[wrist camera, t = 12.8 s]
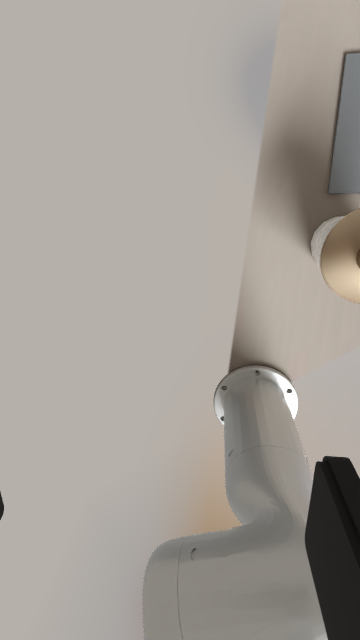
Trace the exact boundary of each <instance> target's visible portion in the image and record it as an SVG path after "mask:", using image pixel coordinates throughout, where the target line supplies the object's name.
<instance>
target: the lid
mask: <svg viewBox="0 0 360 640" xmlns="http://www.w3.org/2000/svg"><path fill="white" fill-rule="evenodd" d="M320 268H321V272H322V275H323V278H324V280H325V282H326V283H327V285H328V286H329V287H330V288H331V289H332V290H333V291H334V292H335V293H336V294H338V295H339V296H340V297H342V298H344V299H346V300H348V301H351V302H355V303H360V209H357V210H355V211H353V212H351V213H350V214H348V215H346V216H345V217H344V218H342V219H341V220H340V221H339V222H338V223H337V224H336V225H335V226H334V227H333V228H332V229H331V231H330V232H329V234H328V235H327V237H326V239H325V241H324V243H323V246H322V249H321V255H320Z"/></svg>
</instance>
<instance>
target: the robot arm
mask: <svg viewBox="0 0 360 640" xmlns="http://www.w3.org/2000/svg"><path fill="white" fill-rule="evenodd" d="M257 370H258V371H257ZM224 385H225V386H224ZM214 409H215V413H216V415H217V418H218V420H219V421H220V422H221V424H222V425H223V426H224V433H225V434H224V440H225V485H226V486H225V487H226V494H227V499H228V502H229V504H230V507H231V509H232V511H233V512H234V514H235V516H236V517H237V519H238V520H239V521H240V523H241V524H242V525H243V526H239V527H233V528H232V529H226V530H220V531H214V532H208V533H203V534H196V535H190V536H186V537H180V538H176V539H172V540H169V541H167V542H165V543H163V544H161V545H160V546H159V547H157V548H156V550H155V551H154V552H153V553H152V555H151V557H150V559H149V561H148V564H147V567H146V571H145V576H144V582H143V627H144V639H145V640H360V478H359V476H358V475H357V473H356V471H355V468H354V467H353V465H352V463H351V461H350V459H349V458H346V457H331V456H325V457H324V458H323V461H322V462H316V466H315V472H314V478H313V475H312V472H311V469H310V466H309V463H308V460H307V458H306V454H305V451H304V448H303V446H302V442H301V440H300V437H299V434H298V431H297V428H296V425H295V422H294V417H295V415H296V413H297V409H298V398H297V394H296V391H295V389H294V386H293V385H292V383H291V382H290V380H289V379H288V378H287V377H286V376H285V375H283V374H282V373H280V372H279V371H277V370H275V369H272V368H269V367H265V366H257V365H254V366H245V367H242V368H238V369H236V370H234V371H232V372H231V373H229V374H228V375H226V376H225V377H224V378H223V379H222V380H221V382H220V383H219V385H218V386H217V388H216V391H215V395H214ZM3 511H4V505H3V501H2V497H1V493H0V520H1V517H2V515H3Z"/></svg>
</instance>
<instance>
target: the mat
mask: <svg viewBox="0 0 360 640" xmlns="http://www.w3.org/2000/svg"><path fill="white" fill-rule="evenodd" d="M332 193H360V53H352V54H346V55H345V62H344V70H343V77H342V85H341V93H340V101H339V109H338V117H337V125H336V133H335V140H334V148H333V156H332V164H331V172H330V180H329V188H328V194H332Z"/></svg>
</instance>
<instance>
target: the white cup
mask: <svg viewBox="0 0 360 640" xmlns="http://www.w3.org/2000/svg"><path fill="white" fill-rule="evenodd" d="M344 217H345V216H335V217H333V218H331V219H329V220H327V221H325V222H323V223H322V224H321V225H320V226H319V227H318V228H317V230H316V231H315V232H314V235H313V237H312V240H311V243H310V245H311V253H312V256H313V258H314V259H315V260H316V262H317V263H318V264H319V266H320V255H321V249H322V246H323V243H324V241H325V239H326V237H327V235H328V234H329V232H330V231H331V229H332V228H333V227H334V226H335V225H336V224H337V223H338V222H339V221H340V220H341V219H342V218H344Z"/></svg>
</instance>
